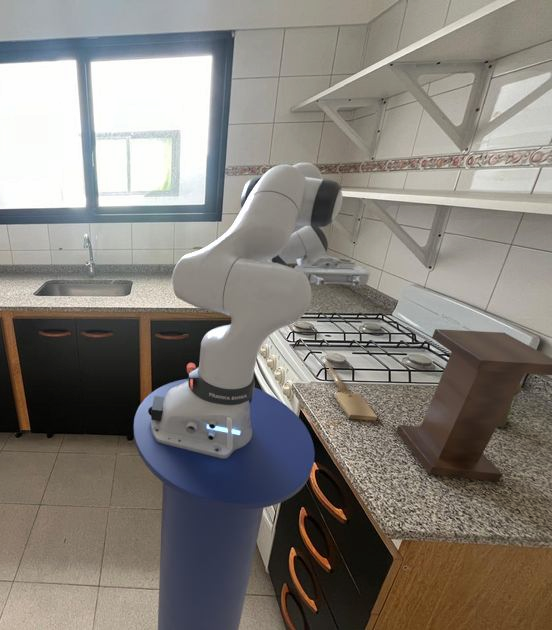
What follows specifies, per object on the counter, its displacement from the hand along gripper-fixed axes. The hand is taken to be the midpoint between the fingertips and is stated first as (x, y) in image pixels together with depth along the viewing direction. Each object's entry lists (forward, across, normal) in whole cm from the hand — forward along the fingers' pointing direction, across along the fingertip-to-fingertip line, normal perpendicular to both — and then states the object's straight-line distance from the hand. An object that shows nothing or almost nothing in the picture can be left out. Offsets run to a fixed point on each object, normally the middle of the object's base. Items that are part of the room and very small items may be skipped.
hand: (339, 283), depth 97 cm
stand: (+37, +12, +25) cm, 46 cm away
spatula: (+17, 0, +25) cm, 30 cm away
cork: (+23, +30, +25) cm, 45 cm away
